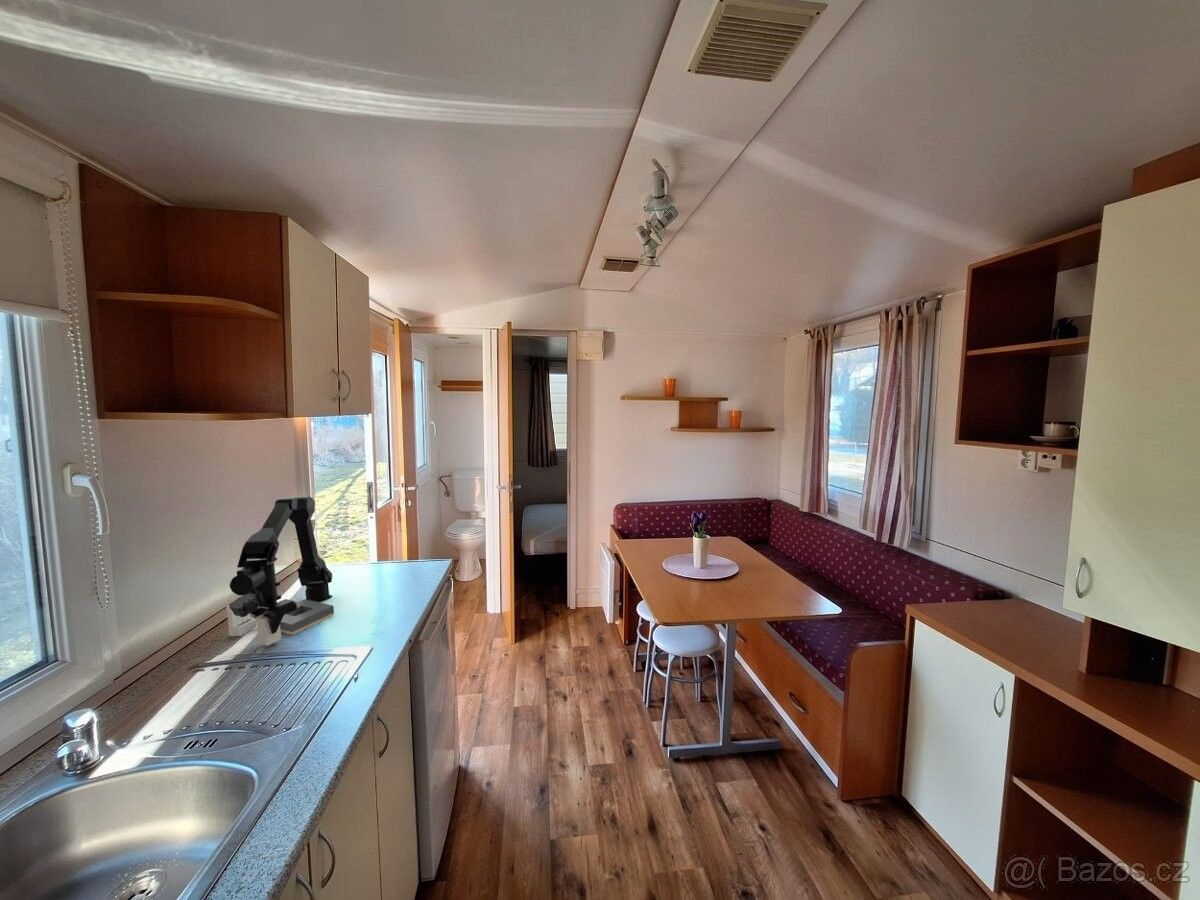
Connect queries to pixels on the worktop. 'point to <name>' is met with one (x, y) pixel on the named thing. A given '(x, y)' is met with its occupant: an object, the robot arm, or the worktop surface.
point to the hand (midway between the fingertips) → (269, 632)
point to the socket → (305, 616)
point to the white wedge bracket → (239, 623)
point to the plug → (266, 631)
